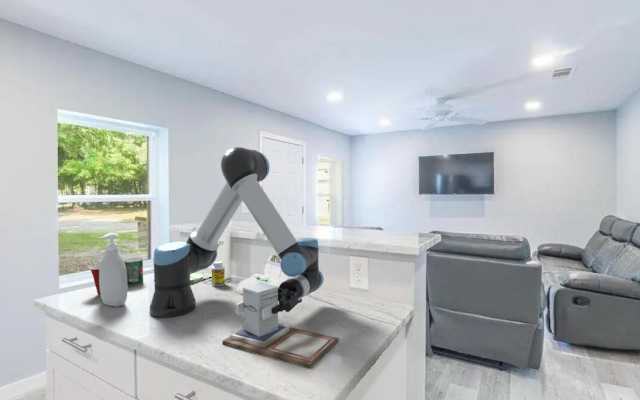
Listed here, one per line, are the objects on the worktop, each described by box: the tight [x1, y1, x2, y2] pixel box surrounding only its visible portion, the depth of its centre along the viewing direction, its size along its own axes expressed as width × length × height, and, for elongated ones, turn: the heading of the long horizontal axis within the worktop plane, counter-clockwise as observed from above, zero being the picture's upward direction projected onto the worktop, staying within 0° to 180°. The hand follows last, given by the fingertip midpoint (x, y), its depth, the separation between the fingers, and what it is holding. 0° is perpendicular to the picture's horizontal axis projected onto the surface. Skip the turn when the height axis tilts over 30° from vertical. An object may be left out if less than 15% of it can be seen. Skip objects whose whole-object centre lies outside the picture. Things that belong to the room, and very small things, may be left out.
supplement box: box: [242, 281, 279, 337], centre depth 98 cm, size 7×7×13 cm
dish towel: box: [153, 270, 204, 286], centre depth 162 cm, size 18×23×3 cm
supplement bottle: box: [211, 260, 226, 287], centre depth 152 cm, size 6×6×10 cm
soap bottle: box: [97, 232, 128, 308], centre depth 127 cm, size 14×8×27 cm, turn 62°
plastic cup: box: [89, 264, 101, 297], centre depth 141 cm, size 11×11×12 cm
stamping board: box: [222, 324, 339, 369], centre depth 95 cm, size 28×16×2 cm, turn 62°
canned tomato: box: [123, 257, 144, 287], centre depth 155 cm, size 8×8×11 cm
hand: (249, 311), depth 94 cm, fingers closed on supplement box, 8 cm apart
